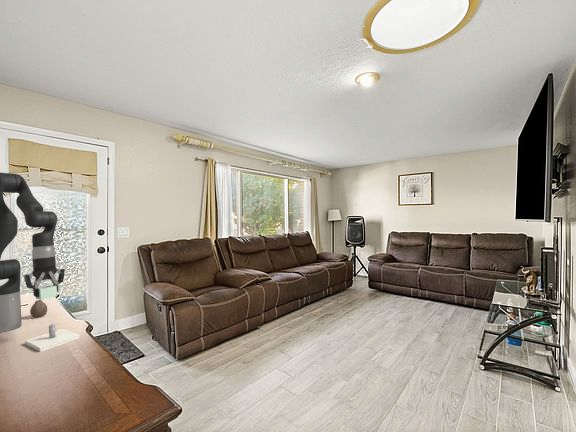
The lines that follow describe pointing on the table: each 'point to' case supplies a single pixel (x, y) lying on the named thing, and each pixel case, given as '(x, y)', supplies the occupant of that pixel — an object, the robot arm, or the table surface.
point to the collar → (47, 292)
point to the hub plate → (51, 339)
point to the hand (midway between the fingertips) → (46, 295)
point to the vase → (38, 309)
